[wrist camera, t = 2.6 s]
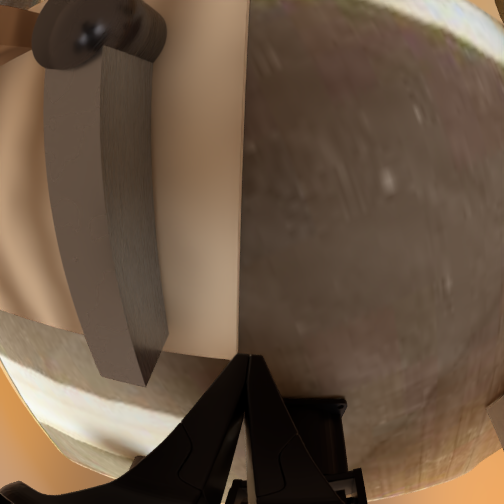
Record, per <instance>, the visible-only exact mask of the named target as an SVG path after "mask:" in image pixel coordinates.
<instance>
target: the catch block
mask: <svg viewBox="0 0 504 504" xmlns="http://www.w3.org/2000/svg"><path fill="white" fill-rule="evenodd" d="M39 14H40V13H36V12H32V11H28V10H24V9H19V8H14V7H9V6H4V5H0V66H2V65H3V64H5V63H7V62H9V61H11V60H13V59H14V58H16V57H18V56H20V55H22V54H24V53H26V52H28V51H30V50H32V33H33V29H34V26H35V23H36V20H37V18H38V16H39Z"/></svg>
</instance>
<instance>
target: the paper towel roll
mask: <svg viewBox="0 0 504 504" xmlns="http://www.w3.org/2000/svg"><path fill="white" fill-rule="evenodd" d="M486 410H487V413H488V415H489V417H490V419H491V421H492V424H493V426H494V428H495V430H496V433H497V435H498V438H499V440H500V442H501V445H502V448H503V450H504V395H503V396H502V397H501V398H500V399H499V400H498V401H496V402H495V403H494V404H493V405H491V406H490V407H489V408H487V409H486Z"/></svg>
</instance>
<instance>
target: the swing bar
mask: <svg viewBox="0 0 504 504" xmlns="http://www.w3.org/2000/svg"><path fill="white" fill-rule="evenodd" d="M166 38H167V26H166V23H165V20H164V18H163V17H162V16H161V14H160V13H158V12H157V11H156V10H155V9H153V8H152V7H151V6H150V5H148V4H147V3H146V2H144V1H143V0H48V1H47V3H46V4H45V5H44V7H43V9H42V10H41V12H40V14H39V16H38V18H37V20H36V23H35V26H34V29H33V33H32V52H33V56H34V58H35V60H36V61H37V63H38V64H40V65H41V66H42V67H44V68H45V78H44V103H43V124H44V149H45V163H46V173H47V182H48V191H49V198H50V205H51V211H52V217H53V223H54V228H55V233H56V238H57V243H58V247H59V252H60V256H61V260H62V264H63V268H64V272H65V276H66V280H67V283H68V287H69V290H70V294H71V297H72V300H73V303H74V306H75V310H76V313H77V316H78V319H79V321H80V324H81V327H82V330H83V333H84V335H85V338H86V341H87V343H88V346H89V348H90V351H91V353H92V356H93V358H94V361H95V363H96V365H97V368H98V370H99V372H100V375H101V376H102V377H106V378H109V379H113V380H117V381H121V382H125V383H129V384H133V385H138V386H142V387H146V386H147V383H148V381H149V379H150V376H151V374H152V372H153V369H154V367H155V365H156V363H157V360H158V358H159V356H160V353H161V351H162V349H163V347H164V344H165V342H166V340H167V338H168V335H169V331H168V325H167V318H166V312H165V305H164V298H163V291H162V284H161V276H160V268H159V259H158V249H157V239H156V228H155V216H154V201H153V183H152V157H151V95H152V70H153V63H154V61H155V60H156V59H157V58H158V56H159V55H160V53H161V52H162V50H163V48H164V45H165V42H166Z"/></svg>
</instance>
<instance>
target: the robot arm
mask: <svg viewBox="0 0 504 504" xmlns="http://www.w3.org/2000/svg"><path fill="white" fill-rule="evenodd" d="M346 408H347V401H346V400H344V399H328V400H306V399H282V397H281V395H280V393H279V391H278V389H277V386H276V384H275V382H274V380H273V378H272V375H271V373H270V371H269V369H268V367H267V364H266V362H265V360H264V358H263V356H262V355H253V354H251V355H250V356H249V355H248V354H241V353H237V354H236V355H235V356H234V357H233V358H232V360H231V361H230V362H229V363H228V365H227V366H226V367H225V368H224V370H223V371H222V372H221V373H220V375H219V376H218V377H217V378H216V380H215V381H214V382H213V383H212V385H211V386H210V387H209V388H208V390H207V391H206V392H205V393H204V394H203V396H202V397H201V398H200V399H199V401H198V402H197V403H196V404H195V405H194V407H193V408H192V409H191V410H190V411H189V413H188V414H187V415H186V416H185V417H184V418H183V420H182V421H181V423H179V424H178V425H177V427H176V428H175V429H174V430H173V431H172V432H171V433H170V434H169V435H168V436H167V438H166V439H165V440H164V441H163V442H162V443H161V444H159V445H158V446H157V447H156V448H155V449H154V450H153V451H152V452H151V453H149V454H148V455H147V456H146V457H145V458H143V459H142V460H141V461H140V462H139V463H137V464H136V465H135V466H134V467H132V468H131V469H130V470H129V471H127V472H126V473H125V474H123V475H122V476H121V477H119V478H117V479H116V480H114V481H111V482H110V483H106V484H103V485H99V486H96V487H92V488H88V489H84V490H80V491H76V492H71V493H66V494H61V495H46V494H42V493H40V492H38V491H36V490H34V489H33V488H31V487H29V486H28V485H26V484H25V483H23V482H21V481H17V482H13V483H10V484H8V485H6V486H4V487H2V488H1V489H0V504H221V500H222V497H223V493H224V490H225V486H226V482H227V479H228V475H229V472H230V468H231V464H232V460H233V457H234V453H235V449H236V445H237V441H238V438H239V434H240V430H241V426H242V422H243V417H244V423H245V448H246V471H247V481H243V480H242V479H234V480H233V483H232V486H231V488H230V489H229V492H228V496H227V499H226V502H225V504H367V498H366V492H365V486H364V481H363V475H362V470H361V468H357V469H353V471H348V465H347V456H346V448H345V440H344V433H343V426H342V419H341V418H342V416H343V414H344V412H345V410H346ZM244 411H245V415H244ZM348 494H351V495H352V497H349V498H346V495H348Z"/></svg>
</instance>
